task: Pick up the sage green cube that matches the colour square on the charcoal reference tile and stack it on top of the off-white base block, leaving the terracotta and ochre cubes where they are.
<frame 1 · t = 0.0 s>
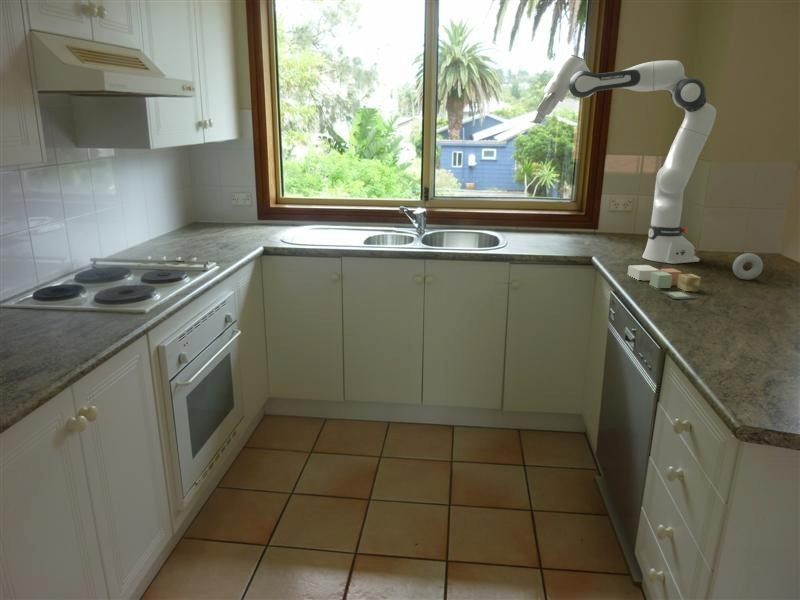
hand: (536, 123, 257), 54 cm above the worktop, tool tilted 30°, fingers open, 8 cm apart
terracotta cube: (668, 283, 217), on the worktop
base block: (642, 278, 225), on the worktop
donut: (745, 280, 224), on the worktop
sage cube: (659, 287, 212), on the worktop
reference tile: (678, 295, 202), on the worktop
ochre cube: (687, 289, 210), on the worktop
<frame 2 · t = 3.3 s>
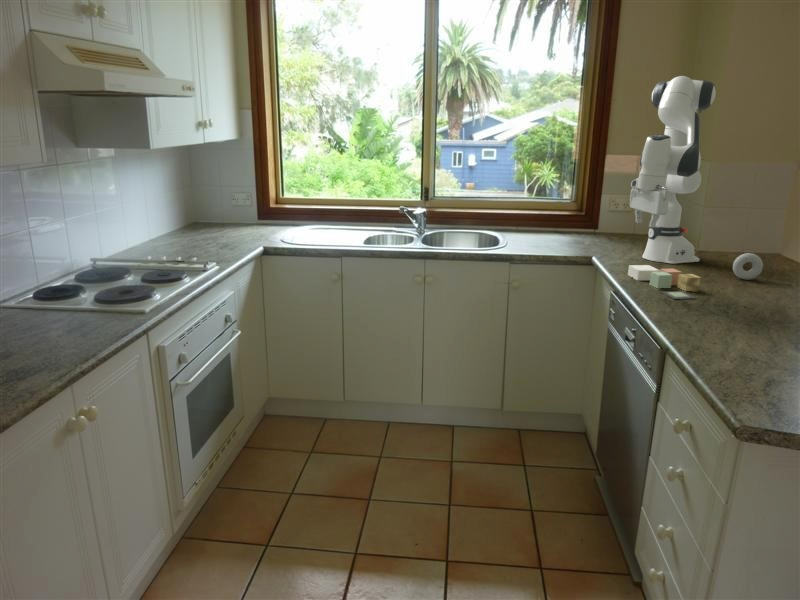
hand: (645, 224, 208), 22 cm above the worktop, tool pointing down, fingers open, 8 cm apart
nothing on the worktop moved.
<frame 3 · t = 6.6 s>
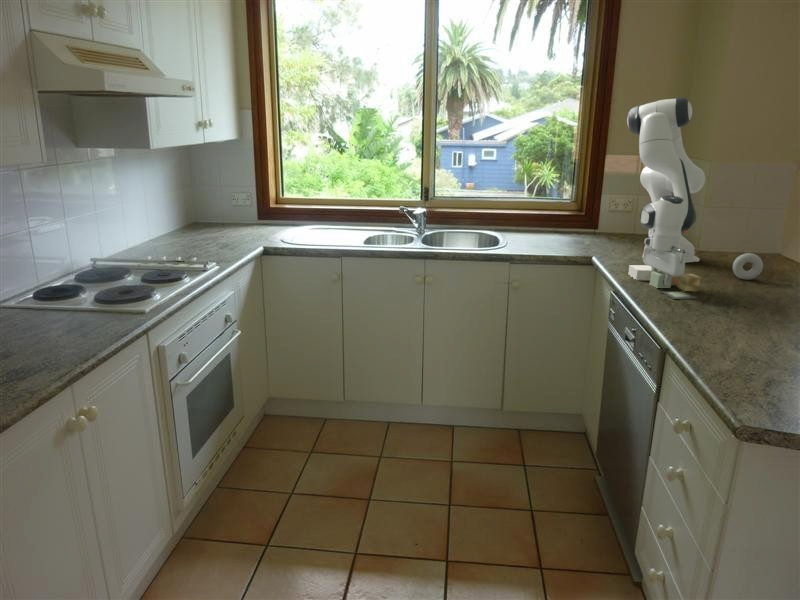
hand: (660, 282, 212), 2 cm above the worktop, tool pointing down, fingers closed on sage cube, 5 cm apart
sage cube: (659, 286, 212), on the worktop, touching gripper
everything else where it was.
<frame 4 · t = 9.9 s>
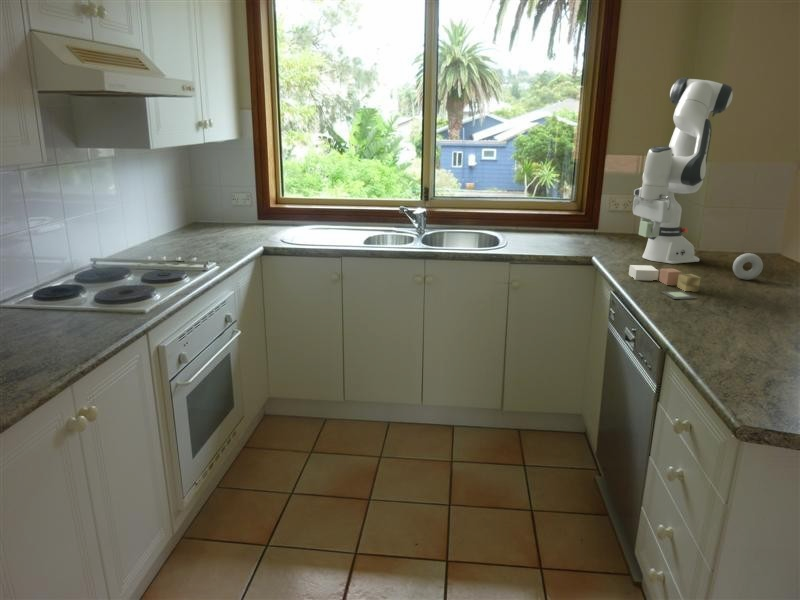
hand: (649, 231, 219), 17 cm above the worktop, tool pointing down, fingers closed on sage cube, 5 cm apart
sage cube: (648, 235, 220), point 16 cm above the worktop, touching gripper
everything else where it was.
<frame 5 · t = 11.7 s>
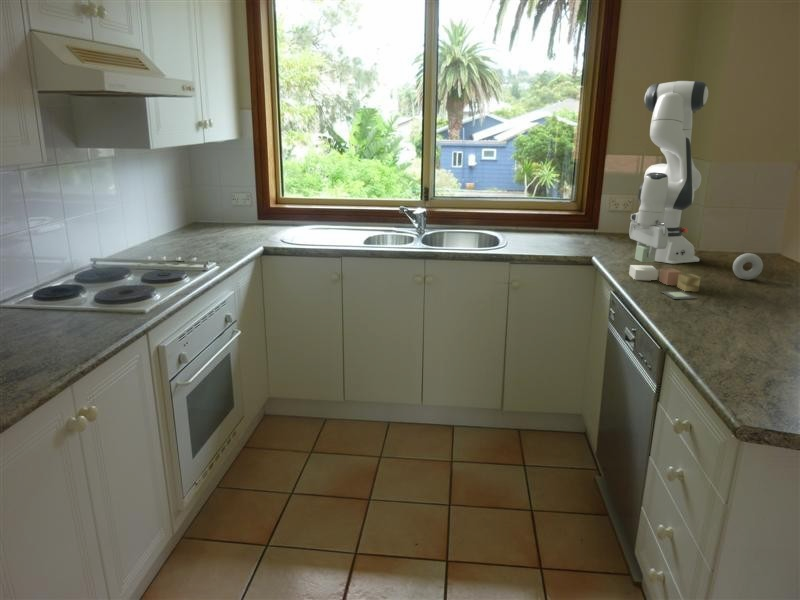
hand: (645, 255, 222), 8 cm above the worktop, tool pointing down, fingers closed on sage cube, 5 cm apart
sage cube: (644, 260, 223), point 7 cm above the worktop, touching gripper
everything else where it was.
when the fingers open (7 cm above the worktop, at t = 13.0 s): sage cube drops 2 cm, resting on base block.
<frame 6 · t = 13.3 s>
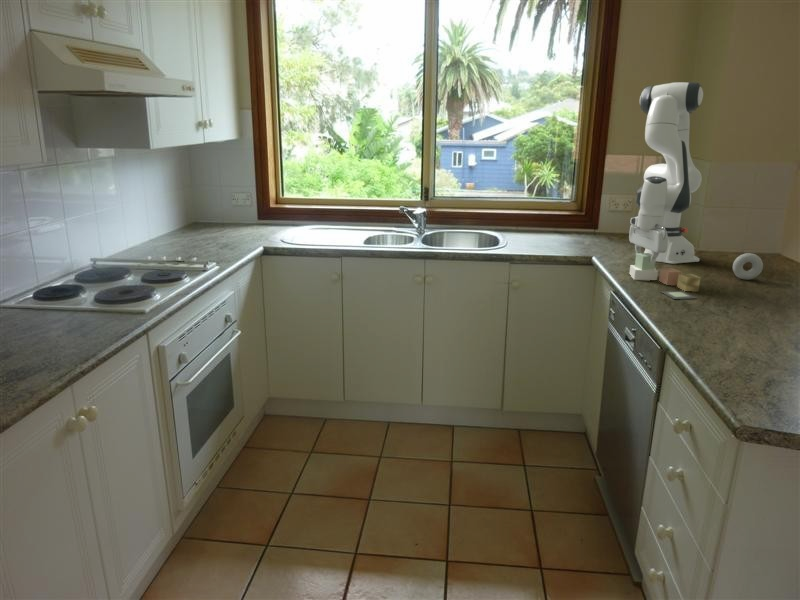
hand: (645, 259, 223), 7 cm above the worktop, tool pointing down, fingers open, 8 cm apart
base block: (642, 278, 225), on the worktop, touching sage cube
sage cube: (644, 267, 224), point 4 cm above the worktop, touching base block
everything else where it was.
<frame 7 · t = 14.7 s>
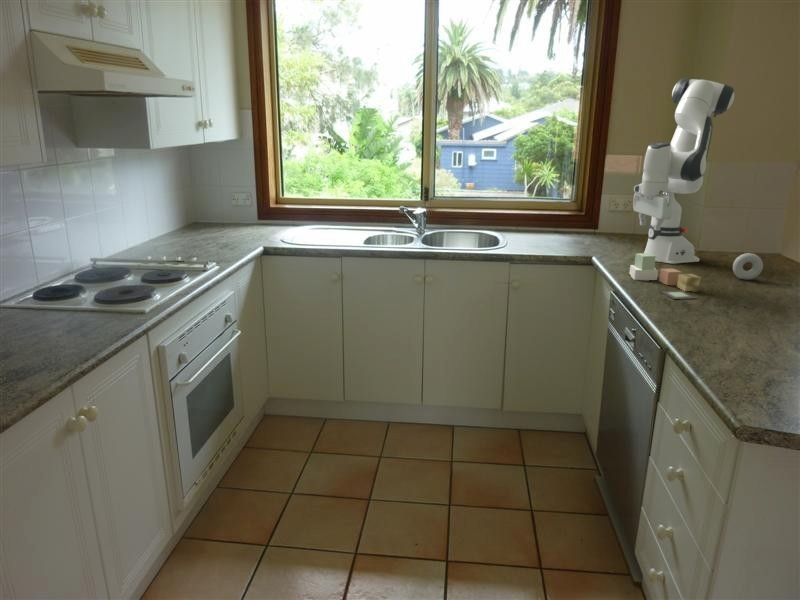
hand: (649, 227, 219), 19 cm above the worktop, tool pointing down, fingers open, 8 cm apart
nothing on the worktop moved.
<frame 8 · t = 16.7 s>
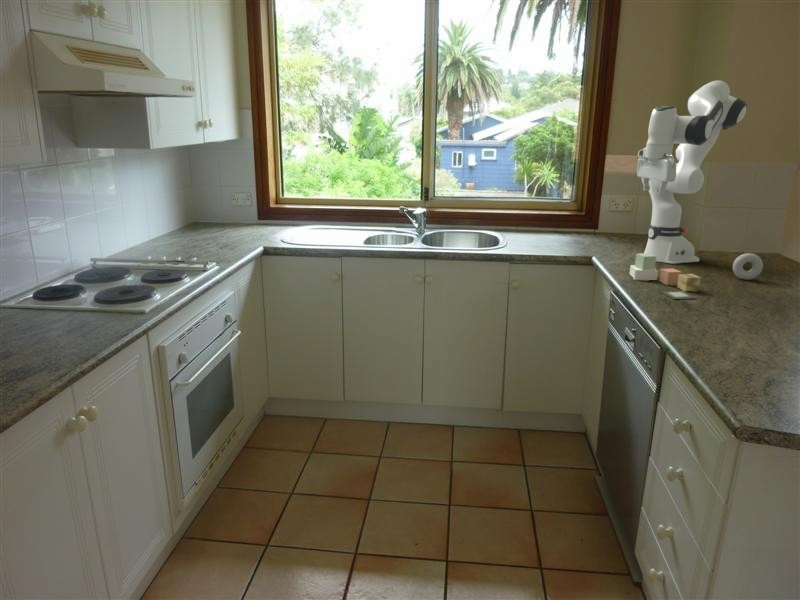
hand: (653, 192, 220), 31 cm above the worktop, tool pointing down, fingers open, 8 cm apart
nothing on the worktop moved.
at the end: sage cube 0.1 cm off-centre on the base block, point 4.0 cm above the base block's base; sage cube tilted 0°; the gripper is holding nothing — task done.
